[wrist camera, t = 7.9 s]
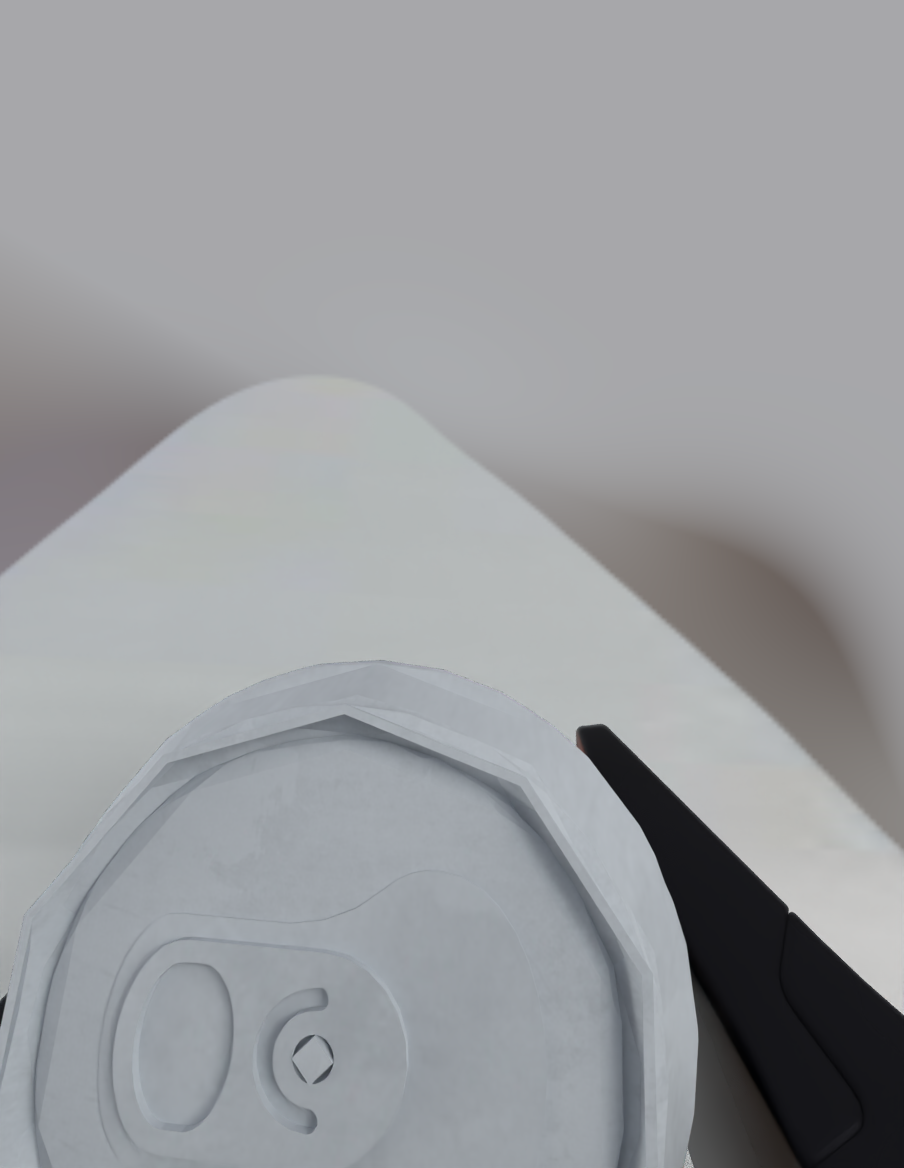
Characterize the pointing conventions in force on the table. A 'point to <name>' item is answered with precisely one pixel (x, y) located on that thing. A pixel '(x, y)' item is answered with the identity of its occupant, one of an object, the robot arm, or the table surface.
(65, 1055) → the beer can
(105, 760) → the table surface
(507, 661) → the table surface
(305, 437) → the table surface
